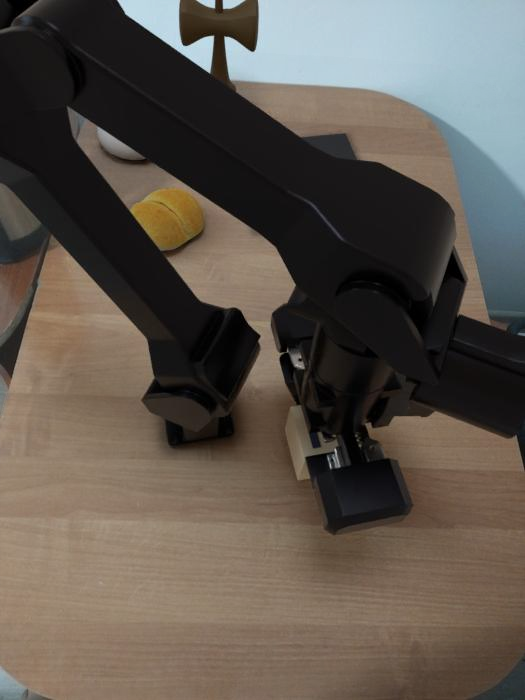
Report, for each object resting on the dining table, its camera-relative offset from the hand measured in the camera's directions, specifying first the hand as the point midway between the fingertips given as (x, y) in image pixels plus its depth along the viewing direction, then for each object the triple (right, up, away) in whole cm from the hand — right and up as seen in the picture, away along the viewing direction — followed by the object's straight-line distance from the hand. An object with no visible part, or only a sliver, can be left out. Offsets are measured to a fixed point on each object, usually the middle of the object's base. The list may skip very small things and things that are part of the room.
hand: (318, 445), depth 50 cm
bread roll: (-17, +24, +17) cm, 34 cm away
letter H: (0, -1, +1) cm, 1 cm away
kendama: (-11, +41, +30) cm, 52 cm away
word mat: (+1, +31, +24) cm, 39 cm away
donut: (-22, +37, +26) cm, 51 cm away
